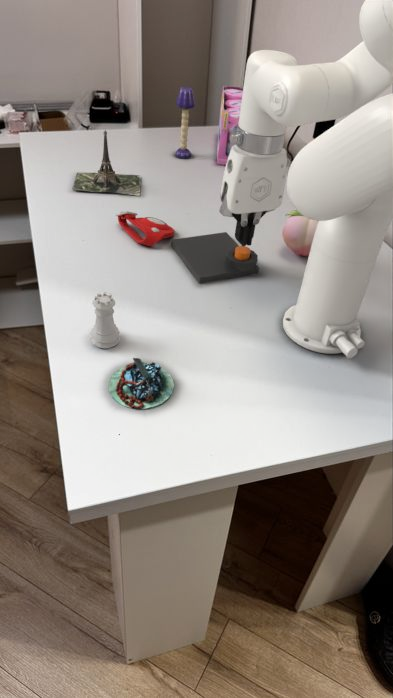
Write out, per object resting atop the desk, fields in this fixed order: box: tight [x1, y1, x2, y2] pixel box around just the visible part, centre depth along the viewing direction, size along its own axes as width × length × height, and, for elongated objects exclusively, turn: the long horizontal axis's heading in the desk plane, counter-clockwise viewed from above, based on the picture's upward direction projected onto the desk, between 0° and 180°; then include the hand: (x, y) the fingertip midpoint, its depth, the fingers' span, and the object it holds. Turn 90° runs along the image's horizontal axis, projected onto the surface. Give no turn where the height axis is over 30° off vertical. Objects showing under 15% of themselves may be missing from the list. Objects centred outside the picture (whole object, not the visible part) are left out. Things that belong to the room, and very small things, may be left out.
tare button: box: [235, 245, 252, 260], centre depth 97 cm, size 3×3×2 cm
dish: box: [108, 357, 175, 410], centre depth 74 cm, size 8×7×8 cm
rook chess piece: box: [90, 291, 121, 349], centre depth 78 cm, size 4×4×8 cm
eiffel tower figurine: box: [72, 129, 141, 197], centre depth 119 cm, size 15×10×13 cm
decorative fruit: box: [281, 209, 319, 257], centre depth 102 cm, size 9×8×10 cm
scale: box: [170, 231, 260, 285], centre depth 100 cm, size 14×12×3 cm
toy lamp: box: [174, 86, 196, 160], centre depth 135 cm, size 5×5×17 cm
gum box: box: [216, 85, 243, 166], centre depth 141 cm, size 24×8×14 cm, turn 178°
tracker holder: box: [115, 210, 175, 247], centre depth 105 cm, size 12×4×10 cm
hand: (243, 241), depth 96 cm, fingers closed
